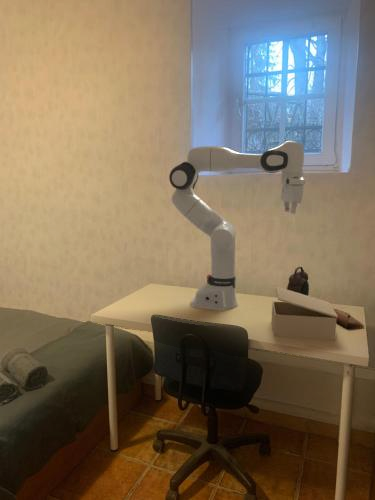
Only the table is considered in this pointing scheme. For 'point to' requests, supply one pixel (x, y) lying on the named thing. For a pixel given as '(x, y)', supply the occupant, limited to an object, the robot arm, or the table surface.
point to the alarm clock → (299, 282)
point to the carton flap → (305, 301)
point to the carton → (301, 322)
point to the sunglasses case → (347, 320)
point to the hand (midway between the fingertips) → (289, 212)
